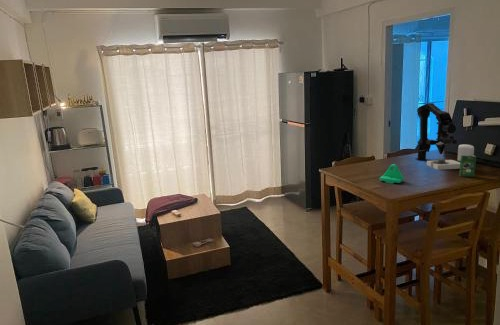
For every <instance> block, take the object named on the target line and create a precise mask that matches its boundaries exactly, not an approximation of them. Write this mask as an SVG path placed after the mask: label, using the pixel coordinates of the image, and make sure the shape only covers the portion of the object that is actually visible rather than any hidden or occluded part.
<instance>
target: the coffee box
mask: <svg viewBox="0 0 500 325" xmlns="http://www.w3.org/2000/svg"><path fill="white" fill-rule="evenodd" d="M459 162H460V169H459V173H458V176H459V177H462V178H463V177H464V178H465V177H466V178H467V177H468V178H469V177H470V178H471V177H472V178H473V177H475V172H476V163H477V156H476V155H474V156H466V155H461V161H459Z"/></svg>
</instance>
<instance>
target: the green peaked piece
mask: <svg viewBox="0 0 500 325" xmlns="http://www.w3.org/2000/svg"><path fill="white" fill-rule="evenodd" d="M379 181H381V182H382V181H383V182H385V183H386V184H392V185H393V184H395V183H397V184H400V183H402V182H403V181H404V176H403V173H402V172H401V171H400V169H399V166H398V165H397V164H395V163H393V164H392V163H391V165H388V168H387V170H386V171H385V172H384V174H383V175H382V176H380V177H379Z"/></svg>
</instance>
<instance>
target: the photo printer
mask: <svg viewBox="0 0 500 325" xmlns="http://www.w3.org/2000/svg"><path fill="white" fill-rule="evenodd" d="M474 154H475V147H474V146H473V145H472V144H468V143H467V144H459V145H458V148H457V162H461V155H466V156H475V155H474Z"/></svg>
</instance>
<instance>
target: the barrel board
mask: <svg viewBox="0 0 500 325" xmlns="http://www.w3.org/2000/svg"><path fill="white" fill-rule="evenodd" d="M444 160H445V164H437V163H435V160H426V166H427V167H430V168H432V169H435V170H439V171H440V170H457V169H459V170H460V162H461V161H458V160H454V159H444Z"/></svg>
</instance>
